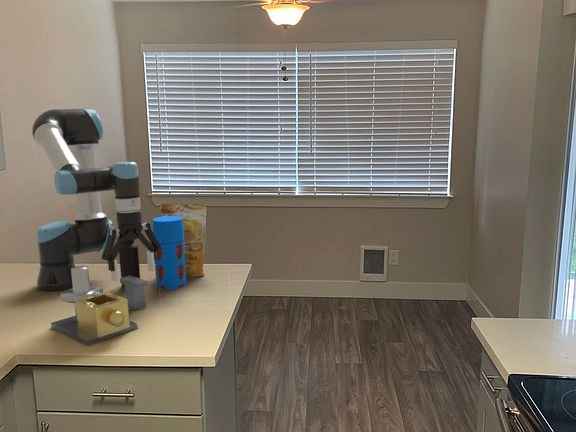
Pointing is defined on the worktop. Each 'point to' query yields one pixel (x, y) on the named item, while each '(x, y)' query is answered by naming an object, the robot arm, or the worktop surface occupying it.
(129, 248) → the bottle
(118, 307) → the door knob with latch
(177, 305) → the worktop surface
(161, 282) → the thermos
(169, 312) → the worktop surface
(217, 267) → the worktop surface
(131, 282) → the grey slab block
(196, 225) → the pancake mix bag
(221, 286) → the worktop surface
